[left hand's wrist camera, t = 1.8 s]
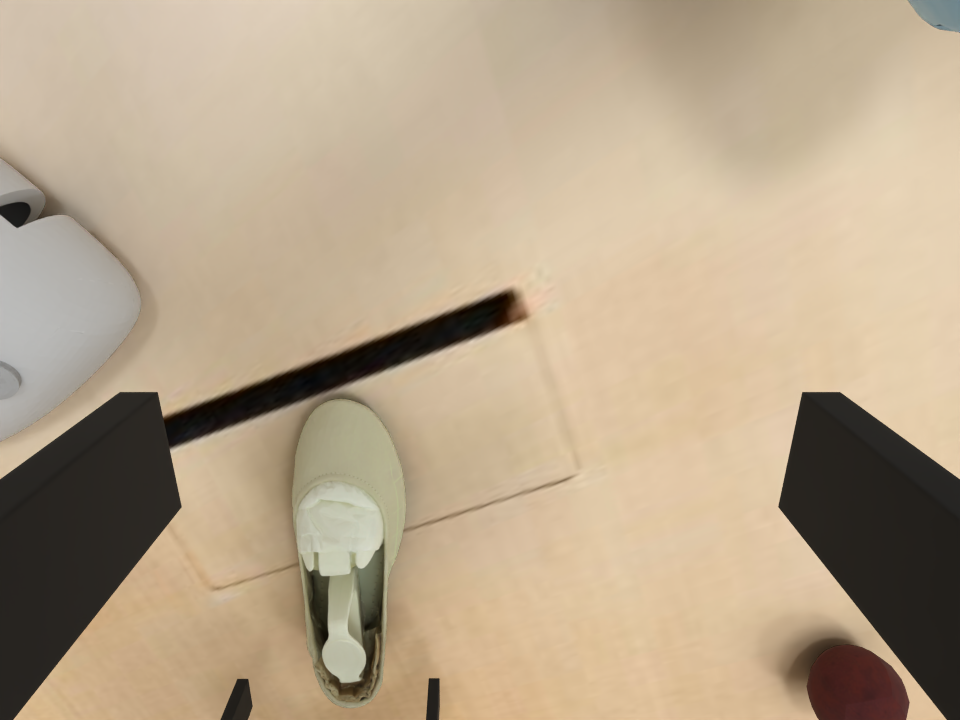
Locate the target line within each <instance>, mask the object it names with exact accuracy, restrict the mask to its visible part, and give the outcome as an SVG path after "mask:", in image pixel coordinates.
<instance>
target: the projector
mask: <svg viewBox="0 0 960 720" xmlns="http://www.w3.org/2000/svg"><path fill="white" fill-rule="evenodd" d="M45 201H46V200H45V196H44V194H43V192H42V191H40V190H39V189H38V188H37V187H36V186H35V185H33V184H32V183H31V182H30V181H29V180H27V179H26V178H25V177H24V176H23V175H21V174H20V173H19V172H18V171H17V170H15V169H14V168H13V167H12V166H10V165H9V164H8V163H7V162H5V161H4V160H3V159H1V158H0V441H3V440H5V439H7V438H9V437H10V436H12V435H14V434H16V433H18V432H20V431H22V430H23V429H25V428H27V427H28V426H30V425H32V424H33V423H35V422H36V421H37V420H39V419H40V418H42V417H43V416H45V415H46V414H48V413H49V412H50V411H52V410H53V409H54V408H55V407H57V406H58V405H59V404H60V403H62V402H63V401H64V400H66V399H67V398H68V397H69V396H70V395H71V394H72V393H74V392H75V391H76V390H77V389H78V388H79V387H80V386H81V385H83V384H84V383H85V382H86V381H87V380H88V379H89V378H90V377H91V376H92V375H93V374H94V373H95V372H96V371H97V370H98V369H99V368H100V367H101V366H102V365H103V364H104V363H105V362H106V361H107V359H108V358H109V357H110V356H111V355H112V354H113V353H114V352H115V350H116V349H117V348H118V347H119V346H120V344H121V343H122V342H123V341H124V340H125V338H126V337H127V335H128V334H129V333H130V331H131V330H132V328H133V326H134V325H135V323H136V321H137V319H138V316H139V314H140V309H141V297H140V293H139V290H138V288H137V286H136V284H135V282H134V280H133V278H132V277H131V275H130V274H129V272H128V271H127V270H126V268H125V267H124V266H123V265H122V264H121V263H120V262H119V260H118V259H117V258H116V257H115V256H114V255H113V254H112V253H111V252H110V251H109V250H108V249H107V248H106V247H104V246H103V245H102V244H101V243H100V242H99V241H98V240H97V239H96V238H95V237H94V236H92V235H91V234H90V233H89V232H88V231H87V230H86V229H85V228H83V227H82V226H81V225H80V224H79V223H78V222H77V221H75V220H74V219H73V218H72V217H70V216H67V215H54V216H49V217H45V218H42V219H38V220H36V219H37V218H38V217H39V215H40V214H41V212H42V210H43V208H44V206H45Z"/></svg>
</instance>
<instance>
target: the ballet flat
mask: <svg viewBox="0 0 960 720" xmlns="http://www.w3.org/2000/svg"><path fill="white" fill-rule="evenodd" d="M292 508H293V525H294V532H295V537H296V543H297V550H298V558H299V565H300V572H301V580H302V587H303V594H304V603H305V623H306V629H307V630H306V637H307V648H308V651H309V653H310V656H311V657H312V659H313V667H314V671H315V675H316V677H317V680H318V682H319V685H320V687H321V689H322V691H323V692H324V694H325V695H326V696H327V698H328V699H329V700H330V701H331V702H333V703H334V704H336V705H338V706H340V707H345V708H357V707H361V706H364V705H366V704H367V703H369V702H370V701H372V700H373V698H374V697H375V696H376V694H377V693H378V691H379V689H380V687H381V684H382V679H383V668H384V657H385V644H386V632H387V590H388V578H389V574H390V571H391V568H392V566H393V564H394V562H395V559H396V557H397V554H398V550H399V547H400V543H401V539H402V535H403V529H404V524H405V516H406V494H405V486H404V479H403V473H402V467H401V464H400V461H399V458H398V455H397V452H396V449H395V447H394V444H393V442H392V440H391V437H390V435H389V433H388V431H387V429H386V428H385V426H384V425H383V424H382V422H381V421H380V419H379V418H378V416H377V415H376V414H375V413H374V412H373V411H372V410H371V409H369V408H368V407H366V406H364V405H363V404H360V403H358V402H355V401H352V400H348V399H333V400H330V401H327V402H325V403H323V404H321V405H319V406H318V407H317V408H316V409H315V410H314V411H313V412H312V413H311V415H310V416H309V418H308V420H307V421H306V423H305V425H304V427H303V430H302V433H301V435H300V438H299V442H298V446H297V450H296V455H295V467H294V478H293V488H292Z"/></svg>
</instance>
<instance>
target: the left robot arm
mask: <svg viewBox="0 0 960 720" xmlns="http://www.w3.org/2000/svg"><path fill="white" fill-rule="evenodd" d="M908 1H909V3H910V4H911V6H912V7H913V8H914V10H915V11H916V13H917V14H918V15H919V16H920V17H921V18H922V19H923V20H924V21H926V22H927V23H928V24H930V25H932V26H933V27H935V28H937V29H941V30H947V31H955V32H959V33H960V0H908ZM180 508H181V502H180V497H179V492H178V487H177V483H176V478H175V473H174V468H173V464H172V459H171V454H170V449H169V444H168V440H167V435H166V430H165V425H164V420H163V416H162V411H161V406H160V401H159V397H158V392H120V393H118V394H117V395H116V396H114V397H113V398H111V399H110V400H109V401H107V402H106V403H105V404H103V405H102V406H100V407H99V408H98V409H96V410H95V411H94V412H92V413H91V414H89V415H88V416H87V417H85V418H84V419H83V420H81V421H80V422H78V423H77V424H76V425H74V426H73V427H72V428H70V429H69V430H67V431H66V432H65V433H63V434H62V435H61V436H59V437H58V438H56V439H55V440H54V441H52V442H51V443H50V444H48V445H47V446H45V447H44V448H43V449H41V450H40V451H39V452H37V453H36V454H34V455H33V456H32V457H30V458H29V459H28V460H26V461H25V462H23V463H22V464H21V465H19V466H18V467H17V468H15V469H14V470H13V471H11V472H10V473H8V474H7V475H6V476H4V477H3V478H2V479H0V720H13V719H14V718H15V717H16V715H17V714H18V713H19V712H20V710H21V709H22V708H23V707H24V705H25V704H26V703H27V702H28V700H29V699H30V698H31V696H32V695H33V694H34V693H35V691H36V690H37V689H38V688H39V686H40V685H41V684H42V683H43V681H44V680H45V679H46V678H47V676H48V675H49V674H50V672H51V671H52V670H53V669H54V667H55V666H56V665H57V664H58V662H59V661H60V660H61V659H62V657H63V656H64V655H65V654H66V652H67V651H68V650H69V649H70V647H71V646H72V645H73V643H74V642H75V641H76V640H77V638H78V637H79V636H80V635H81V633H82V632H83V631H84V630H85V628H86V627H87V626H88V625H89V623H90V622H91V621H92V619H93V618H94V617H95V616H96V614H97V613H98V612H99V611H100V609H101V608H102V607H103V606H104V604H105V603H106V602H107V601H108V599H109V598H110V597H111V595H112V594H113V593H114V592H115V590H116V589H117V588H118V587H119V585H120V584H121V583H122V582H123V580H124V579H125V578H126V577H127V575H128V574H129V573H130V571H131V570H132V569H133V568H134V566H135V565H136V564H137V563H138V561H139V560H140V559H141V558H142V556H143V555H144V554H145V553H146V551H147V550H148V549H149V547H150V546H151V545H152V544H153V542H154V541H155V540H156V539H157V537H158V536H159V535H160V534H161V532H162V531H163V530H164V529H165V527H166V526H167V525H168V524H169V522H170V521H171V520H172V518H173V517H174V516H175V515H176V513H177V512H178V511H179V510H180ZM779 508H780V510H781V511H782V512H783V513H784V515H785V516H786V517H787V518H788V520H789V521H790V522H791V524H792V525H793V526H794V527H795V529H796V530H797V531H798V532H799V534H800V535H801V536H802V537H803V539H804V540H805V541H806V542H807V544H808V545H809V546H810V547H811V549H812V550H813V551H814V553H815V554H816V555H817V556H818V558H819V559H820V560H821V561H822V563H823V564H824V565H825V566H826V568H827V569H828V570H829V571H830V573H831V574H832V575H833V577H834V578H835V579H836V580H837V582H838V583H839V584H840V585H841V587H842V588H843V589H844V590H845V592H846V593H847V594H848V595H849V597H850V598H851V599H852V601H853V602H854V603H855V604H856V606H857V607H858V608H859V609H860V611H861V612H862V613H863V614H864V616H865V617H866V618H867V619H868V621H869V622H870V623H871V625H872V626H873V627H874V628H875V630H876V631H877V632H878V633H879V635H880V636H881V637H882V638H883V640H884V641H885V642H886V643H887V645H888V646H889V647H890V649H891V650H892V651H893V652H894V654H895V655H896V656H897V657H898V659H899V660H900V661H901V662H902V664H903V665H904V666H905V667H906V669H907V670H908V671H909V672H910V674H911V675H912V676H913V678H914V679H915V680H916V681H917V683H918V684H919V685H920V686H921V688H922V689H923V690H924V691H925V693H926V694H927V695H928V696H929V698H930V699H931V700H932V702H933V703H934V704H935V705H936V707H937V708H938V709H939V710H940V712H941V713H942V714H943V715H944V717H945V718H946V719H947V720H960V479H958V478H957V477H956V476H954V475H953V474H952V473H950V472H949V471H947V470H946V469H945V468H943V467H942V466H941V465H939V464H938V463H937V462H935V461H934V460H932V459H931V458H930V457H928V456H927V455H926V454H924V453H923V452H921V451H920V450H919V449H917V448H916V447H915V446H913V445H912V444H910V443H909V442H908V441H906V440H905V439H904V438H902V437H901V436H899V435H898V434H897V433H895V432H894V431H893V430H891V429H890V428H888V427H887V426H886V425H884V424H883V423H882V422H880V421H879V420H877V419H876V418H875V417H873V416H872V415H871V414H869V413H868V412H866V411H865V410H864V409H862V408H861V407H860V406H858V405H857V404H855V403H854V402H853V401H851V400H850V399H849V398H847V397H846V396H844V395H843V394H842V393H840V392H802V397H801V401H800V406H799V411H798V416H797V420H796V425H795V430H794V435H793V440H792V444H791V449H790V454H789V459H788V463H787V468H786V473H785V478H784V483H783V487H782V492H781V497H780V502H779Z"/></svg>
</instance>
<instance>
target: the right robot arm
mask: <svg viewBox="0 0 960 720" xmlns="http://www.w3.org/2000/svg"><path fill="white" fill-rule="evenodd" d="M252 707H253V706H252V700H251V694H250V687H249V681H248V679H237V682H236V684H235V686H234V689H233V691H232V694H231V696H230V698H229V701H228V703H227V706H226V708H225V710H224V713H223V715H222V718H221V720H248V718H249V715H250V712H251V709H252ZM439 708H440V687H439V678H429V686H428V700H427V715H426V720H439Z"/></svg>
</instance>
